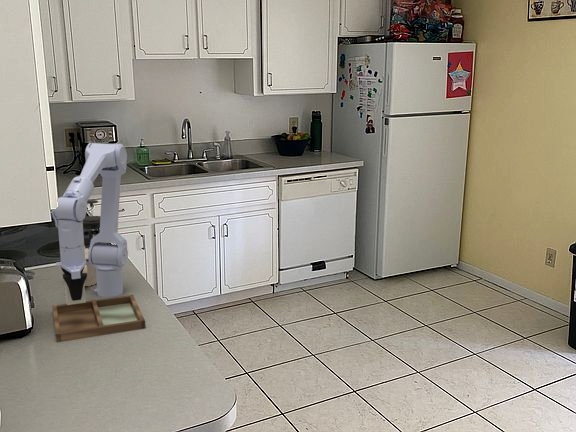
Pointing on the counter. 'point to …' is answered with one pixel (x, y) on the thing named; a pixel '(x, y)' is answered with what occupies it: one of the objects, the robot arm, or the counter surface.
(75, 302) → the stone block
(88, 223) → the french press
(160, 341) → the counter surface
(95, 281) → the teacup with lid
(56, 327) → the sorting tray
